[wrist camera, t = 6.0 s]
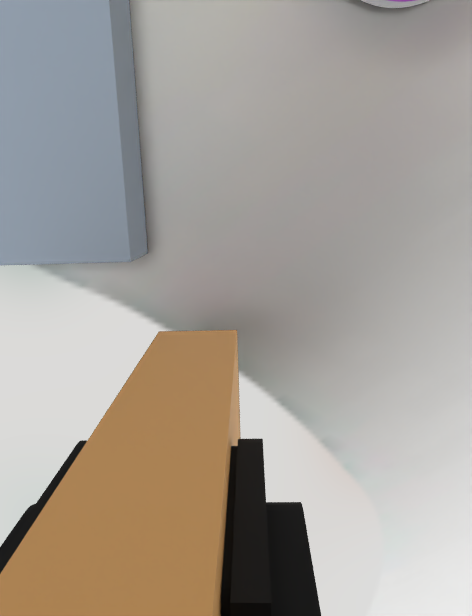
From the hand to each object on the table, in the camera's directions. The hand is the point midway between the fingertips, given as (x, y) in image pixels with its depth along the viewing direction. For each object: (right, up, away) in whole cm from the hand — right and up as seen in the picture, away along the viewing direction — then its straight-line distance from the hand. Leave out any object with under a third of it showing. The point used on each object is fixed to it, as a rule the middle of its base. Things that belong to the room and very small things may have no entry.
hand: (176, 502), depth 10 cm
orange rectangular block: (0, +1, +5) cm, 5 cm away
